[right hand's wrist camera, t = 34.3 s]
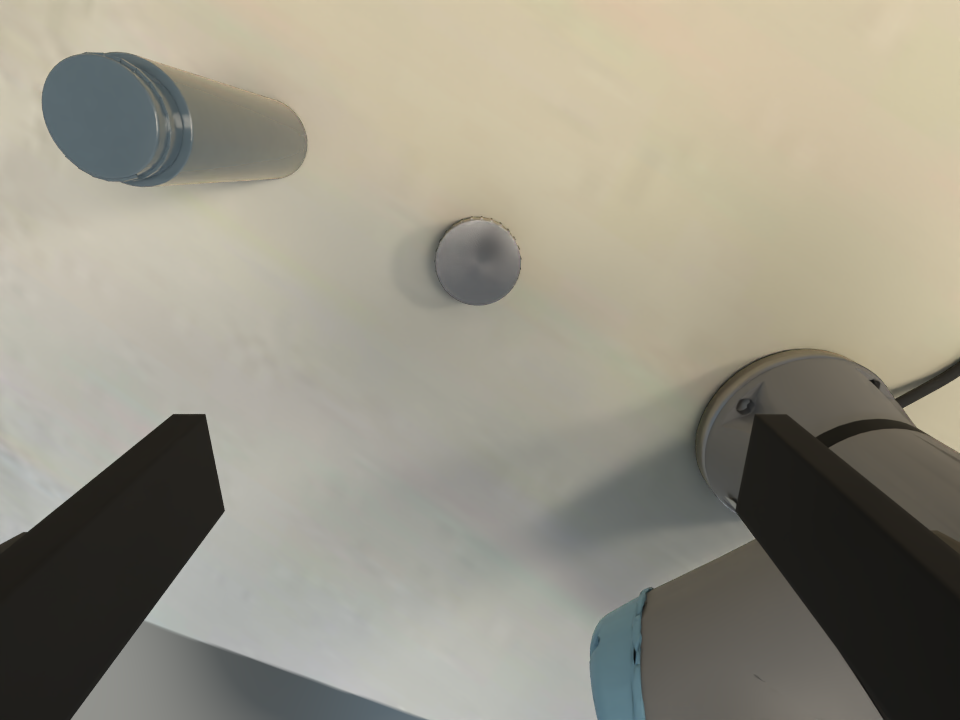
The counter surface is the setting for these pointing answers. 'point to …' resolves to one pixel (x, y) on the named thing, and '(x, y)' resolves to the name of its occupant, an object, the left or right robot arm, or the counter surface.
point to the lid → (478, 261)
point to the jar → (165, 124)
